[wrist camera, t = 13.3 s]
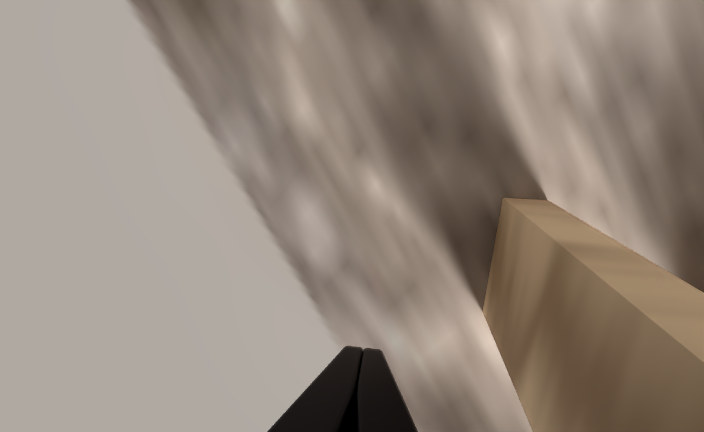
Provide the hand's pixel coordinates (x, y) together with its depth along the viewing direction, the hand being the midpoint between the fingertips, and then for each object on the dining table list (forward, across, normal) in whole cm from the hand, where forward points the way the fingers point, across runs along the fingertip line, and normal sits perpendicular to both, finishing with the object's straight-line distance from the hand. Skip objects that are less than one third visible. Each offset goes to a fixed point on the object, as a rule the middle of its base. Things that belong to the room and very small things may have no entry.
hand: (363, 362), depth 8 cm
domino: (+6, -5, 0) cm, 8 cm away
